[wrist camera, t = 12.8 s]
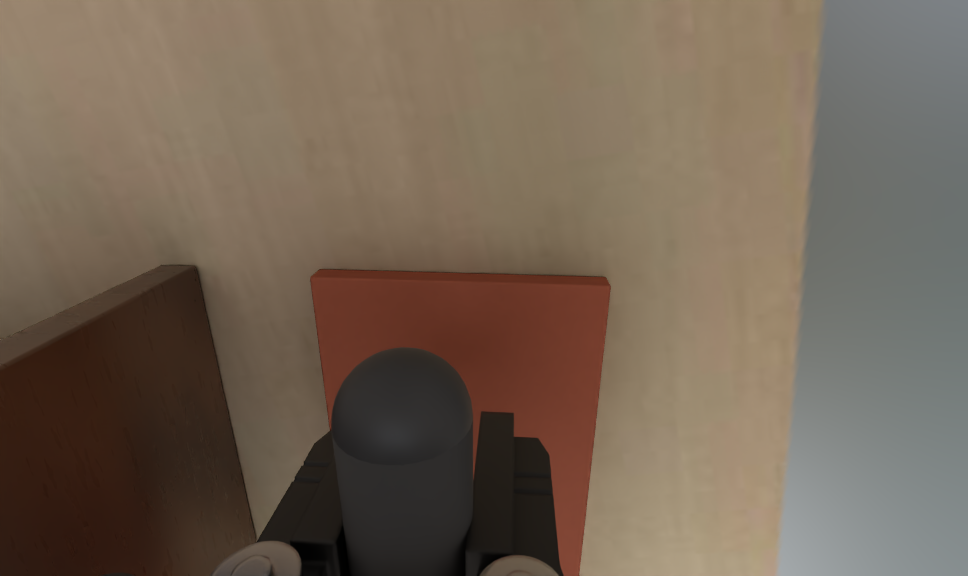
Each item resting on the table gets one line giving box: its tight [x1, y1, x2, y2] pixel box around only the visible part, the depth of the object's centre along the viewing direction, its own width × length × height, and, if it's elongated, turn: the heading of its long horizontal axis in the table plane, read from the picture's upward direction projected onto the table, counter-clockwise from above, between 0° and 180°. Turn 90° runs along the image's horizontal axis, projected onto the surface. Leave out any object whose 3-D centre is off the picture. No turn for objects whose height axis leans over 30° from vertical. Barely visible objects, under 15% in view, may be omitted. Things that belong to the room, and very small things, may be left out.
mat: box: [310, 269, 611, 576], centre depth 18 cm, size 18×9×1 cm, turn 0°
